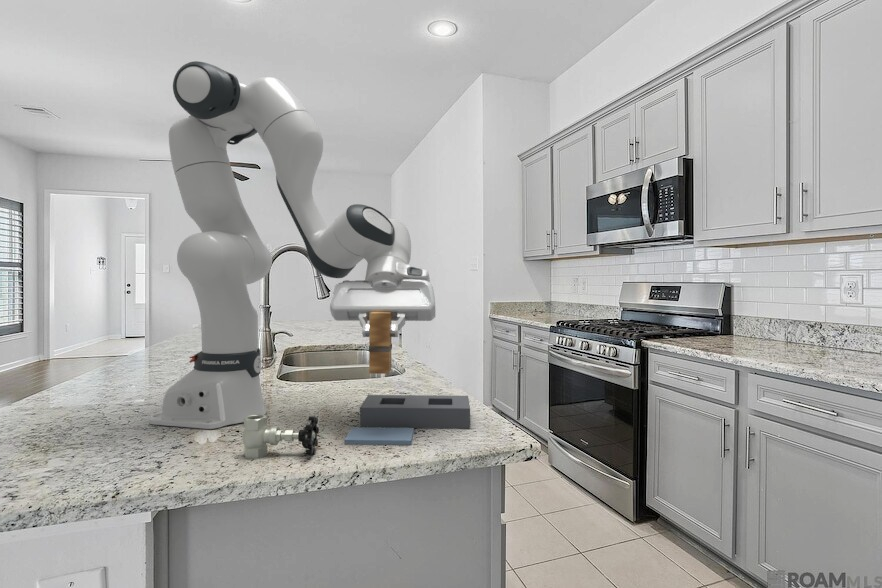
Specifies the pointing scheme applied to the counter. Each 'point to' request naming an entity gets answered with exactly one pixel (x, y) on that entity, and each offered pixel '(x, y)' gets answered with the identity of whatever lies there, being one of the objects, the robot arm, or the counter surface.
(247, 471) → the counter surface
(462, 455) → the counter surface
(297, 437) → the valve
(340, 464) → the counter surface
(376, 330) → the plug
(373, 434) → the pad
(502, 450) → the counter surface
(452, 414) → the holder
